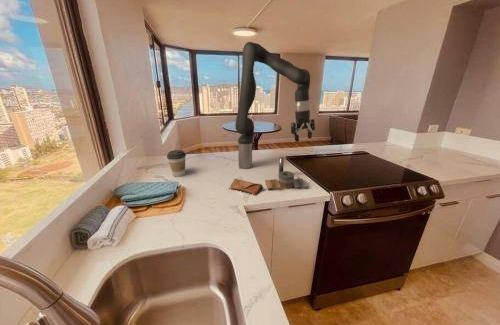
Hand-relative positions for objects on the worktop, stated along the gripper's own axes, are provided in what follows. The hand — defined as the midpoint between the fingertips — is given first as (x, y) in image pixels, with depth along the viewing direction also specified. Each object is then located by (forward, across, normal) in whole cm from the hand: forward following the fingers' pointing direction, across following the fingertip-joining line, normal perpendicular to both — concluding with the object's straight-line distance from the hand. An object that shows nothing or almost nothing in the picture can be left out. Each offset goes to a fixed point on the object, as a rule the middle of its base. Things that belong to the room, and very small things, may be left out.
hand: (303, 139), depth 116 cm
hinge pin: (+23, +8, -14) cm, 28 cm away
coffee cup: (+16, +65, -43) cm, 80 cm away
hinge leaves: (+24, +12, -2) cm, 27 cm away
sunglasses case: (+23, +35, -8) cm, 42 cm away
